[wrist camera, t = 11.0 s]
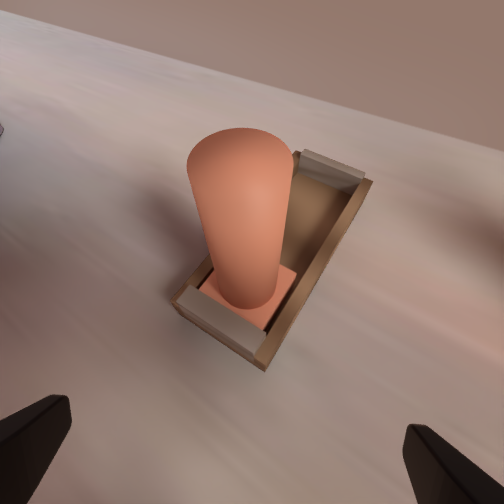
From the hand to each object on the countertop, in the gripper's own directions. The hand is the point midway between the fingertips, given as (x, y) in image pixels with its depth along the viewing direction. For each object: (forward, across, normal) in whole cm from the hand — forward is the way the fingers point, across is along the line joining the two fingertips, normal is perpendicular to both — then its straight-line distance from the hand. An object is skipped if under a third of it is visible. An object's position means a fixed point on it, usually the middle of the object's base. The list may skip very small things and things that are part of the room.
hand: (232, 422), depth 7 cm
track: (+16, -2, -1) cm, 16 cm away
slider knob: (+12, 0, +1) cm, 12 cm away
